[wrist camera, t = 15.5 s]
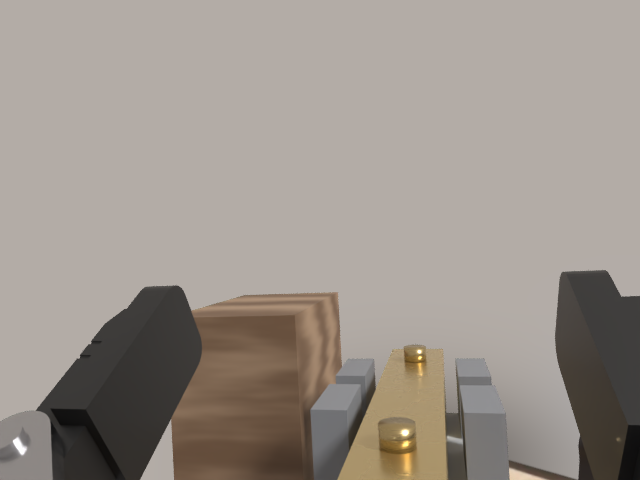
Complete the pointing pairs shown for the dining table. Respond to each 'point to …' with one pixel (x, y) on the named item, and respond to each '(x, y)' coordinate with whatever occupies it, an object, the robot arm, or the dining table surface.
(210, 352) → the stand
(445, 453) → the gold studded block
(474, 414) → the post
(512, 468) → the dining table surface
